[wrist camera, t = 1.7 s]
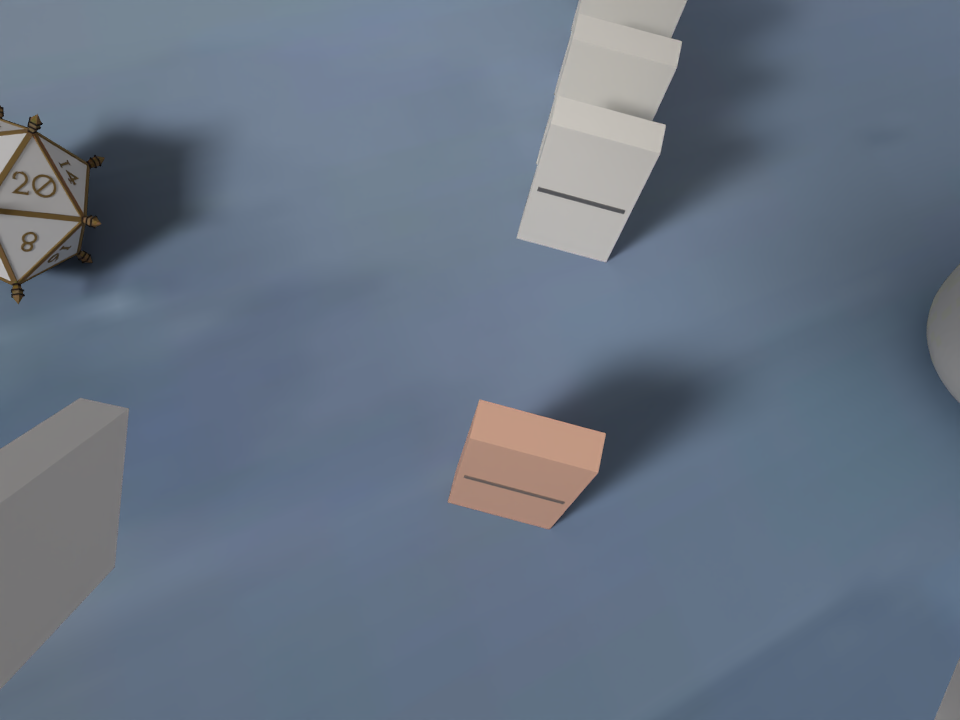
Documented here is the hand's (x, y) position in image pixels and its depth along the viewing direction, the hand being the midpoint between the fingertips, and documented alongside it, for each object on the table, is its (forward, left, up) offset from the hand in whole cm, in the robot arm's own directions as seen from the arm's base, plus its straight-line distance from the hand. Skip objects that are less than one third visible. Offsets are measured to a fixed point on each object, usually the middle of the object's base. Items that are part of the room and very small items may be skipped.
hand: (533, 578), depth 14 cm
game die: (-28, -9, -29) cm, 41 cm away
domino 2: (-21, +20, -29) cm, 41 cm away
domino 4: (-6, +7, -29) cm, 30 cm away
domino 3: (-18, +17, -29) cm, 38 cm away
